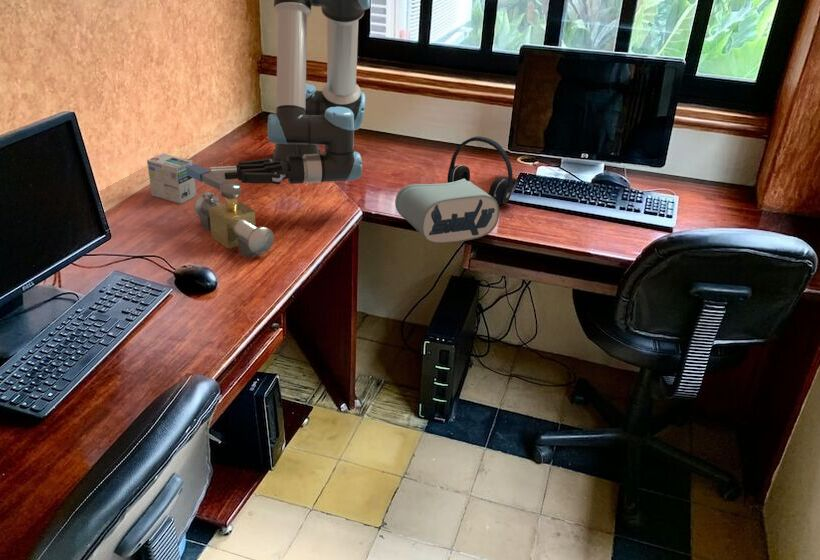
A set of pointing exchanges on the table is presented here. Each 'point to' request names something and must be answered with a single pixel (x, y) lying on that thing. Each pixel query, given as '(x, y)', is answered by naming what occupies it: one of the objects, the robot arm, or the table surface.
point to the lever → (214, 181)
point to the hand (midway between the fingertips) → (210, 173)
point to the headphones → (499, 187)
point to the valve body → (233, 225)
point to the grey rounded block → (448, 210)
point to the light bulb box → (171, 178)
